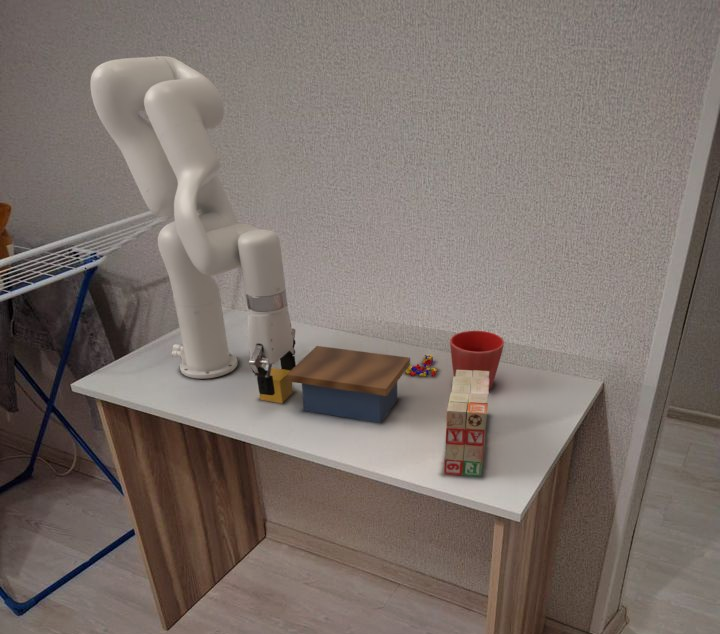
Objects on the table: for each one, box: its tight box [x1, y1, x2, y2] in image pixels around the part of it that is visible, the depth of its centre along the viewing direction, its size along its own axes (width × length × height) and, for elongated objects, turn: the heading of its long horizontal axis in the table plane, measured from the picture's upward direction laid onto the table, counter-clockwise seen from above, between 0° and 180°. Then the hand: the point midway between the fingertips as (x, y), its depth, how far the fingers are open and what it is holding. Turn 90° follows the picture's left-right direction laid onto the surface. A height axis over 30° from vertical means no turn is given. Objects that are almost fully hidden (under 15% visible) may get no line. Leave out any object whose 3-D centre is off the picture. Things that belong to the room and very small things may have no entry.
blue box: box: [301, 382, 398, 424], centre depth 132 cm, size 16×10×7 cm, turn 69°
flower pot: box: [449, 330, 505, 390], centre depth 137 cm, size 11×11×10 cm
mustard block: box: [259, 367, 294, 404], centre depth 137 cm, size 5×5×5 cm
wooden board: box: [287, 345, 411, 396], centre depth 129 cm, size 20×14×2 cm
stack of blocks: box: [443, 370, 490, 478], centre depth 117 cm, size 21×6×12 cm, turn 169°
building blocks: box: [405, 353, 438, 378], centre depth 146 cm, size 6×8×2 cm
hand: (278, 383), depth 136 cm, fingers open, 9 cm apart
